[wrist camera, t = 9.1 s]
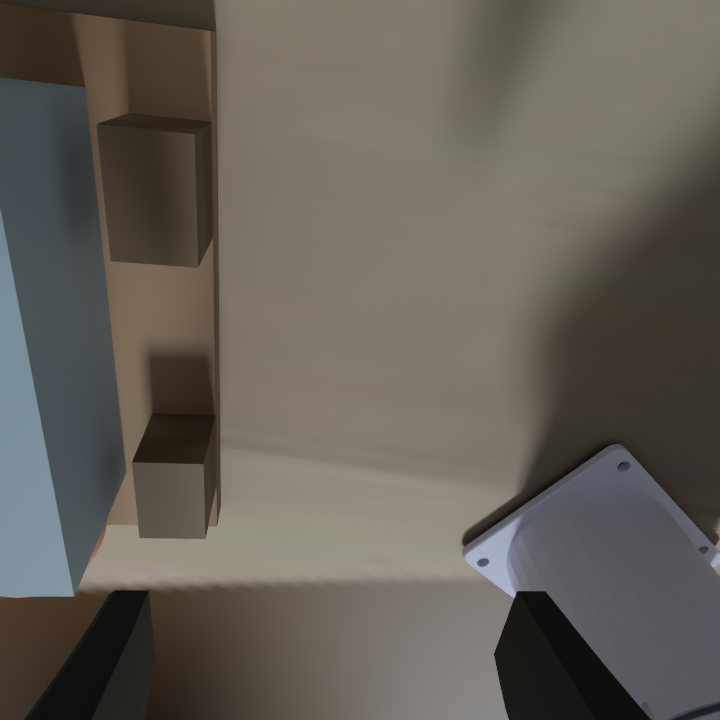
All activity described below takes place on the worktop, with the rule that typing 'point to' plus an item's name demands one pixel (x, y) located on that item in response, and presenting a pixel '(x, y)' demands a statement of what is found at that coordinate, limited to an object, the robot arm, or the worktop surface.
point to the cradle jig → (148, 242)
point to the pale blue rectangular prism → (53, 346)
